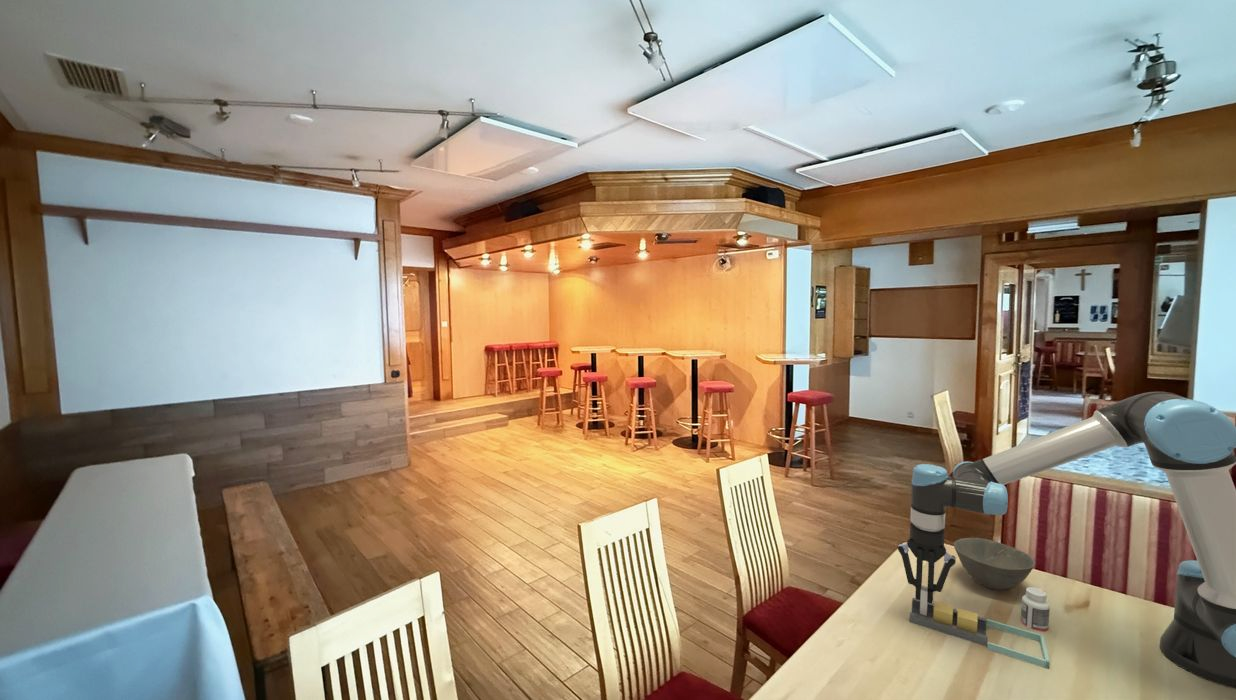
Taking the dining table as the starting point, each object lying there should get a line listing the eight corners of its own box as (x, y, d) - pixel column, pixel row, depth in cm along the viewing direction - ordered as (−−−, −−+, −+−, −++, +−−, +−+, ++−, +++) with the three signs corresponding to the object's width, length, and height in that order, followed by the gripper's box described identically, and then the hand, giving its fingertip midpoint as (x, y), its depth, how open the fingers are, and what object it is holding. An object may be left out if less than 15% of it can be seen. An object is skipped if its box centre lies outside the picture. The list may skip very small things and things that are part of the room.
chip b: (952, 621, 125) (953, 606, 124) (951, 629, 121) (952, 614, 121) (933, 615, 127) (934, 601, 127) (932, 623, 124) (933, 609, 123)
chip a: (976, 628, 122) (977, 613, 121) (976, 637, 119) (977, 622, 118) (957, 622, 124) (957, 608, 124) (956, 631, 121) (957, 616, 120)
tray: (1042, 644, 117) (1043, 635, 117) (1048, 673, 108) (1049, 662, 108) (985, 627, 124) (986, 618, 123) (987, 653, 115) (987, 643, 114)
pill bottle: (1051, 629, 123) (1053, 593, 122) (1043, 637, 120) (1046, 600, 119) (1024, 618, 127) (1026, 583, 126) (1016, 626, 124) (1019, 589, 123)
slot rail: (985, 629, 123) (986, 618, 122) (987, 650, 115) (987, 638, 115) (912, 607, 132) (912, 597, 132) (909, 625, 125) (909, 614, 124)
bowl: (1050, 597, 136) (1052, 563, 135) (999, 608, 131) (1001, 573, 130) (984, 563, 154) (986, 533, 153) (937, 572, 149) (939, 541, 148)
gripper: (958, 526, 124) (954, 613, 126) (899, 514, 131) (896, 596, 133) (957, 537, 118) (953, 629, 120) (896, 524, 125) (893, 610, 127)
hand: (923, 612), depth 127 cm, fingers closed
